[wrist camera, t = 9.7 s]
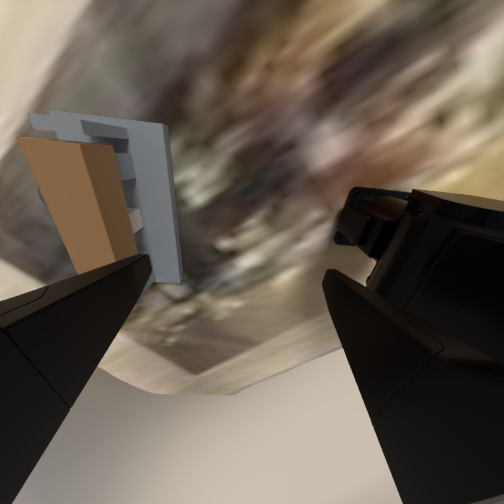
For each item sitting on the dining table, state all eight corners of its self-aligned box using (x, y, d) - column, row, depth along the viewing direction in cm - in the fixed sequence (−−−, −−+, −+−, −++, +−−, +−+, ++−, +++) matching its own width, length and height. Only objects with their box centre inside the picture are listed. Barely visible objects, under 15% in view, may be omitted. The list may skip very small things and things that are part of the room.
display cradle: (168, 125, 16) (128, 113, 11) (183, 278, 24) (165, 313, 19) (61, 112, 16) (-34, 93, 10) (113, 272, 24) (75, 307, 19)
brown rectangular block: (59, 139, 13) (11, 136, 11) (112, 145, 13) (79, 144, 11) (109, 280, 19) (87, 300, 17) (144, 283, 20) (128, 303, 17)
